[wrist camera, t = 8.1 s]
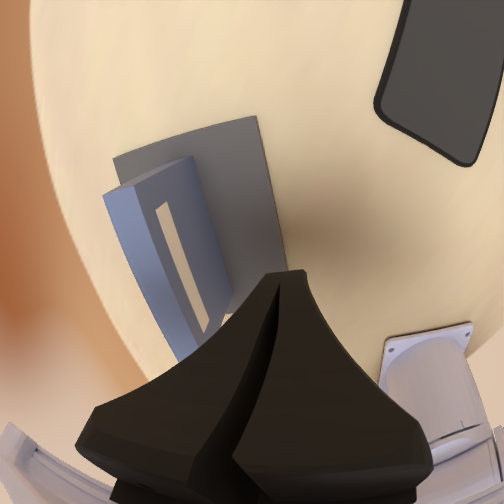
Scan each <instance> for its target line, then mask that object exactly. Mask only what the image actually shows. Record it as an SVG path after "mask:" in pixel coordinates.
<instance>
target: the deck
mask: <svg viewBox="0 0 504 504" xmlns="http://www.w3.org/2000/svg"><path fill="white" fill-rule="evenodd" d="M102 196H103V199H104V202H105V205H106V208H107V210H108V213H109V216H110V218H111V221H112V224H113V226H114V229H115V231H116V234H117V237H118V239H119V242H120V244H121V246H122V249H123V251H124V254H125V256H126V258H127V261H128V263H129V265H130V268H131V270H132V272H133V274H134V276H135V279H136V281H137V283H138V285H139V287H140V289H141V292H142V294H143V296H144V298H145V300H146V302H147V304H148V306H149V308H150V310H151V312H152V314H153V316H154V318H155V320H156V322H157V324H158V326H159V327H160V329H161V331H162V333H163V335H164V337H165V339H166V340H167V342H168V344H169V346H170V348H171V349H172V351H173V353H174V355H175V357H176V358H177V360H178V362H181V361H182V360H183V359H185V358H186V357H188V356H189V355H190V354H192V353H193V352H194V351H195V350H197V349H198V348H199V347H200V346H201V345H202V344H204V343H205V342H206V341H207V340H208V339H209V338H210V337H212V336H213V335H214V334H215V333H216V332H217V331H218V330H219V329H220V326H221V324H222V321H223V318H224V316H225V313H226V310H227V308H228V305H229V302H230V299H231V297H232V294H233V292H232V289H231V286H230V283H229V279H228V276H227V273H226V270H225V266H224V263H223V260H222V256H221V253H220V250H219V246H218V243H217V240H216V236H215V233H214V229H213V226H212V223H211V219H210V216H209V212H208V209H207V205H206V202H205V198H204V195H203V191H202V187H201V184H200V180H199V177H198V173H197V169H196V166H195V162H194V158H193V155H191V156H188V157H184V158H180V159H177V160H173V161H170V162H167V163H164V164H162V165H160V166H158V167H156V168H154V169H152V170H150V171H148V172H146V173H144V174H142V175H140V176H138V177H136V178H134V179H132V180H130V181H128V182H126V183H124V184H122V185H120V186H119V187H117V188H115V189H113V190H111V191H109V192H108V193H106V194H104V195H102Z"/></svg>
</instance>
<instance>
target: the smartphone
mask: <svg viewBox="0 0 504 504" xmlns="http://www.w3.org/2000/svg"><path fill="white" fill-rule="evenodd" d="M503 72H504V0H404V3H403V7H402V11H401V14H400V18H399V21H398V25H397V28H396V32H395V35H394V39H393V42H392V45H391V48H390V52H389V55H388V58H387V61H386V64H385V67H384V70H383V73H382V76H381V79H380V82H379V85H378V88H377V91H376V94H375V97H374V102H373V104H374V110H375V112H376V114H377V115H378V117H379V118H380V119H381V120H382V121H383V122H385V123H386V124H388V125H390V126H392V127H393V128H395V129H397V130H399V131H401V132H403V133H405V134H407V135H408V136H410V137H412V138H414V139H416V140H417V141H419V142H421V143H422V144H425V145H427V146H429V148H431V149H433V150H434V151H436V152H437V153H439V154H441V155H442V156H444V157H445V158H447V159H448V160H450V161H451V162H453V163H454V164H456V165H458V166H461V167H471V166H472V165H473V164H474V163H475V162H476V160H477V158H478V156H479V153H480V151H481V148H482V145H483V142H484V140H485V137H486V134H487V131H488V128H489V125H490V122H491V119H492V115H493V112H494V108H495V105H496V101H497V98H498V94H499V90H500V85H501V81H502V76H503Z"/></svg>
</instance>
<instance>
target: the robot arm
mask: <svg viewBox="0 0 504 504" xmlns="http://www.w3.org/2000/svg"><path fill="white" fill-rule="evenodd" d="M473 329H474V326H473V324H472V323H466V324H461V325H457V326H453V327H448V328H444V329H439V330H434V331H429V332H424V333H419V334H413V335H408V336H402V337H396V338H390V339H388V340H387V341H386V343H385V348H384V355H383V361H382V367H381V372H380V378H379V383H378V385H376V384H375V383H374V381H373V380H372V379H371V378H370V377H369V376H368V375H367V374H366V373H365V372H364V371H363V370H362V368H361V367H360V366H359V365H358V364H357V363H356V362H355V361H354V360H353V358H352V357H351V356H350V355H349V353H348V352H347V351H346V350H345V348H344V347H343V346H342V344H341V343H340V342H339V340H338V339H337V337H336V336H335V334H334V333H333V332H332V330H331V328H330V327H329V325H328V324H327V322H326V320H325V319H324V317H323V315H322V313H321V312H320V310H319V308H318V306H317V304H316V302H315V300H314V298H313V295H312V293H311V291H310V288H309V285H308V281H307V274H306V272H305V271H304V270H303V269H302V270H292V271H283V272H273V273H266V274H265V275H264V276H263V278H262V279H261V280H260V281H259V283H258V284H257V285H256V287H255V288H254V289H253V291H252V292H251V293H250V294H249V296H248V297H247V298H246V299H245V301H244V302H243V303H242V304H241V306H240V307H239V308H238V309H237V310H236V312H235V313H234V314H233V315H232V316H231V317H230V318H229V319H228V320H227V321H226V322H225V324H224V325H223V326H222V327H221V328H220V329H219V330H218V331H217V332H216V333H215V334H214V335H213V336H212V337H210V338H209V339H208V340H207V341H206V342H205V343H204V344H202V345H201V346H200V347H199V348H198V349H197V350H195V351H194V352H193V353H192V354H190V355H189V356H188V357H186V358H185V359H183V360H182V361H181V362H179V363H178V364H176V365H175V366H174V367H172V368H171V369H169V370H168V371H167V372H165V373H163V374H162V375H160V376H159V377H157V378H155V379H154V380H152V381H150V382H148V383H147V384H145V385H143V386H141V387H139V388H138V389H135V390H134V391H132V392H130V393H127V394H125V395H123V396H121V397H118V398H116V399H114V400H111V401H109V402H107V403H104V404H102V405H100V406H97V407H95V408H94V410H93V412H92V414H91V416H90V418H89V419H88V421H87V423H86V425H85V427H84V429H83V431H82V432H81V434H80V436H79V438H78V440H77V442H76V444H75V447H76V450H77V451H78V452H79V453H80V454H81V455H82V456H83V457H84V458H86V459H87V460H89V461H90V462H92V463H93V464H94V465H96V466H97V467H99V468H100V469H102V470H104V471H105V472H107V473H108V474H110V475H112V476H113V477H115V478H117V481H116V483H115V486H114V488H113V487H111V486H109V485H107V484H105V483H102V482H100V481H98V480H96V479H94V478H92V477H90V476H89V475H87V474H84V473H83V472H81V471H79V470H77V469H76V468H74V467H72V466H70V465H69V464H67V463H65V462H64V461H62V460H60V459H59V458H57V457H56V456H54V455H53V454H51V453H49V452H48V451H46V450H45V449H43V448H42V447H41V446H39V445H38V444H37V443H36V442H35V441H34V440H32V439H31V438H30V437H29V436H28V435H26V434H25V433H24V432H23V431H21V430H20V429H19V428H18V427H16V426H15V425H14V424H12V423H11V422H9V423H8V425H7V426H6V428H5V430H4V431H3V433H2V435H1V436H0V481H1V482H2V484H3V485H4V487H5V489H6V490H7V492H8V494H9V496H10V498H11V499H12V501H13V503H14V504H504V427H503V428H502V426H501V425H500V426H498V427H496V428H495V429H494V434H495V438H496V442H495V438H494V434H493V431H492V429H491V427H490V424H489V422H488V420H487V416H486V413H485V410H484V406H483V403H482V400H481V397H480V395H479V392H478V389H477V386H476V383H475V381H474V378H473V376H472V373H471V370H470V368H469V365H468V363H467V360H466V358H465V355H464V352H465V350H466V347H467V345H468V342H469V339H470V337H471V334H472V331H473ZM390 348H391V349H390ZM496 446H497V447H496Z"/></svg>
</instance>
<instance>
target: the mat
mask: <svg viewBox="0 0 504 504" xmlns="http://www.w3.org/2000/svg"><path fill="white" fill-rule="evenodd" d="M191 155H193V158H194V162H195V166H196V169H197V173H198V177H199V180H200V184H201V187H202V191H203V195H204V198H205V202H206V205H207V209H208V212H209V216H210V219H211V223H212V226H213V229H214V233H215V236H216V240H217V243H218V246H219V250H220V253H221V256H222V260H223V263H224V266H225V270H226V273H227V276H228V279H229V283H230V286H231V289H232V292H233V294H232V297H231V299H230V302H229V305H228V308H227V310H226V313H225V314H230V313H235V312H236V310H237V309H238V308H239V307H240V306H241V304H242V303H243V302H244V301H245V299H246V298H247V297H248V296H249V294H250V293H251V292H252V291H253V289H254V288H255V287H256V285H257V284H258V283H259V281H260V280H261V279H262V278H263V276H264V275H265V274H266V273H273V272H283V271H288V269H287V263H286V258H285V253H284V247H283V242H282V237H281V232H280V226H279V221H278V216H277V211H276V206H275V201H274V196H273V192H272V187H271V182H270V177H269V172H268V168H267V163H266V158H265V154H264V149H263V145H262V140H261V136H260V131H259V127H258V123H257V118H256V116H251V117H246V118H242V119H237V120H233V121H229V122H225V123H220V124H217V125H213V126H209V127H205V128H201V129H198V130H194V131H191V132H187V133H184V134H181V135H178V136H174V137H171V138H168V139H165V140H162V141H159V142H156V143H153V144H150V145H147V146H144V147H142V148H139V149H136V150H133V151H131V152H128V153H125V154H123V155H120V156H118V157H115V158H113V162H114V165H115V168H116V172H117V175H118V178H119V181H120V184H121V185H122V184H124V183H126V182H128V181H130V180H132V179H134V178H136V177H138V176H140V175H142V174H144V173H146V172H148V171H150V170H152V169H154V168H156V167H158V166H160V165H162V164H164V163H167V162H170V161H173V160H177V159H180V158H184V157H188V156H191Z"/></svg>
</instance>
